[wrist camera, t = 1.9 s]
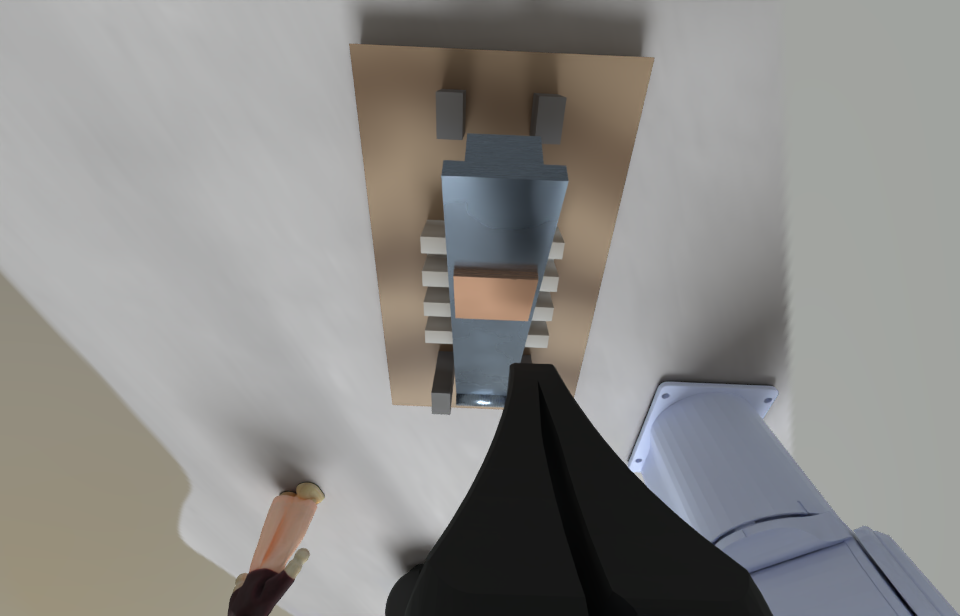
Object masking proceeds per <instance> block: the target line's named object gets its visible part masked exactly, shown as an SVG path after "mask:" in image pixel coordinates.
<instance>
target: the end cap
mask: <svg viewBox="0 0 960 616" xmlns="http://www.w3.org/2000/svg"><path fill="white" fill-rule="evenodd" d="M423 566H424V564H421V565H418V566H416V567H415V568H413V569H412V570H411V571H410V572H408V573H407V574H405V575H404V576H402V577H401V578H400V579H399V580H398V581H397V582H396V584H395V585H394V587H393V588H392V590H391V592H390V594H389V596H388V599H387V603H386V609H385V616H405V612H406V608H407V605H408V602H409V599H410V596H411V594H412V591H413V589H414V586H415V584H416V582H417V579H418V577H419V575H420V572H421V570H422V568H423Z"/></svg>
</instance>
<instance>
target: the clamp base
mask: <svg viewBox="0 0 960 616" xmlns="http://www.w3.org/2000/svg"><path fill="white" fill-rule="evenodd" d="M349 46H350V54H351V62H352V71H353V79H354V87H355V96H356V104H357V112H358V121H359V129H360V137H361V146H362V154H363V162H364V171H365V179H366V187H367V196H368V204H369V212H370V221H371V229H372V237H373V246H374V254H375V262H376V271H377V279H378V287H379V296H380V304H381V312H382V321H383V329H384V338H385V346H386V354H387V363H388V371H389V379H390V388H391V396H392V404H393V405H407V406H431V407H432V414H447V415H450V412H451V407H454V408H478V409H502V410H503V409H504V407H482V406H458V405H456V383H455V368H454V354H453V339H452V325H451V310H450V296H449V281H448V267H447V252H446V238H445V223H444V209H443V194H442V180H441V174H442V167H443V160H454V161H465V152H466V141H467V133H473V134H496V135H518V136H540V137H541V141H542V151H543V162H544V165H566V167H567V174H568V180H569V182H568V186H567V189H566V193H565V197H564V201H563V204H562V208H561V212H560V216H559V219H558V223H557V227H556V231H555V234H554V238H553V242H552V246H551V250H550V253H549V257H548V261H547V265H546V268H545V272H544V276H543V280H542V283H541V287H540V291H539V295H538V298H537V302H536V306H535V310H534V313H533V317H532V321H531V325H530V328H529V332H528V336H527V340H526V343H525V347H524V351H523V355H522V359H521V362H520V363H535V364H553V365H554V366H555V368H556V369H557V371H558V373H559V375H560V377H561V378H562V380H563V382H564V383H565V385H566V387H567V388H568V390H569V391H570V393H571V394H572V396H573V398H574V395H575V391H576V386H577V382H578V378H579V374H580V370H581V365H582V361H583V357H584V353H585V349H586V344H587V340H588V336H589V332H590V328H591V323H592V319H593V315H594V311H595V307H596V302H597V298H598V294H599V290H600V286H601V281H602V277H603V273H604V269H605V264H606V260H607V256H608V252H609V248H610V243H611V239H612V235H613V231H614V227H615V222H616V218H617V214H618V210H619V206H620V201H621V197H622V193H623V189H624V185H625V180H626V176H627V172H628V168H629V163H630V159H631V155H632V151H633V147H634V142H635V138H636V134H637V130H638V126H639V121H640V117H641V113H642V109H643V105H644V100H645V96H646V92H647V88H648V84H649V79H650V75H651V71H652V67H653V63H654V58H653V57H631V56H609V55H587V54H565V53H543V52H522V51H500V50H478V49H456V48H434V47H412V46H390V45H368V44H349Z"/></svg>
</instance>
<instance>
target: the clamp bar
mask: <svg viewBox="0 0 960 616" xmlns="http://www.w3.org/2000/svg"><path fill="white" fill-rule="evenodd" d="M441 180H442V194H443V209H444V223H445V238H446V252H447V267H448V281H449V296H450V310H451V325H452V339H453V354H454V368H455V383H456V405H458V406H482V407H504V405H505V402H506V398H507V388H508V378H509V368H510V365H511V364H513V363H520V362H521V359H522V355H523V351H524V347H525V343H526V340H527V336H528V332H529V328H530V325H531V321H532V317H533V313H534V310H535V306H536V302H537V298H538V295H539V291H540V287H541V283H542V280H543V276H544V272H545V268H546V265H547V261H548V257H549V253H550V250H551V246H552V242H553V238H554V234H555V231H556V227H557V223H558V219H559V216H560V212H561V208H562V204H563V201H564V197H565V193H566V189H567V186H568V182H569V180H568V174H567V167H566V165H544V162H543V151H542V141H541V137H540V136H518V135H496V134H473V133H467V141H466V152H465V161H454V160H443V167H442V174H441Z"/></svg>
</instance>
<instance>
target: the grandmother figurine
mask: <svg viewBox="0 0 960 616" xmlns="http://www.w3.org/2000/svg"><path fill="white" fill-rule="evenodd" d="M296 492H297V494H295V493H293V492H284V493H282V494H280V495H279V496H277V497H275V498H274V500H273V502H272V504H271V507H270V509H269V511H268V514H267V517H266V520H265V523H264V526H263V528H262V532H261V535H260V539H259V542H258V545H257V548H256V550H255V553H254V556H253V559H252V562H251V566H250V571H249V573H248V574H247V573H243V574H240V575H239V576H238V577H237V579H236V582H235V585H236V586H235V588H234V590H233V594H232V596H231V598H230V602H229V609H228V616H268V615H269V614H270V613H271V611H272V609H273V607H274V606H275V605H276V603H277V602H278V601H279V600H280V599H281V597H282V596H283V595H284V593H285V592H286V591H287V590H288V588H289V587H290V586H291V585H292V583H293V582H294V580H295V578H296V576H297V575H298V573H299V572H300V570H301V568H302V565H303V564H304V563H305V562H306V561H307V560H308V558H309V554H310V553H309V551H308V550H307V549H305V548H301V549H299V550H298V551H297V552H296V554H295V556H294V559H293V560H291V561H290V562H289V563H288V565H287V566H286V567H285V565H286V563H287V561H288V560H289V558H290V557H291V556H292V554H293V553H294V551H295V550H296V548H297V547H298V545H299V544H300V542H301V541H302V539H303V537H304V536H305V534H306V531H307V529H308V527H309V524H310V522H311V520H312V518H313V516H314V513H315V511H316V509H317V505H316V504H318V503H320V502H321V501H322V500H323V499H324V494H323V493H322V492H321V490H320V489H319V488H318V486H316V485H314V484H313V483H301V484H299V485H298V486H297V488H296Z"/></svg>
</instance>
